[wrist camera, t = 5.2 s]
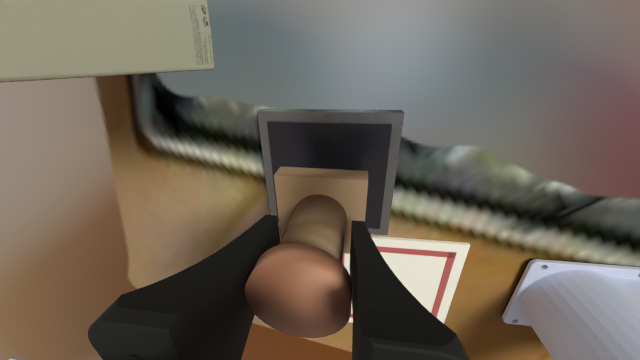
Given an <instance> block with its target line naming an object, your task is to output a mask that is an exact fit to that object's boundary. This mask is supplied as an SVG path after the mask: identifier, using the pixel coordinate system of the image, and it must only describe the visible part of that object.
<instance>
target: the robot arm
mask: <svg viewBox="0 0 640 360" xmlns="http://www.w3.org/2000/svg"><path fill="white" fill-rule="evenodd" d="M279 243H280V236H279V227H278V218H277V216H276V215H265V216H264V217H263V218H261V219H260V220H259V221H258V222H256V223H255V224H254V225H253V226H252V227H250V228H249V229H248V230H247V231H245V232H244V233H243V234H241V235H240V236H239V237H237V238H236V239H235V240H233V241H232V242H230V243H229V244H228V245H226V246H225V247H223V248H222V249H220V250H219V251H217V252H216V253H214V254H213V255H211V256H209V257H208V258H206V259H204V260H202V261H201V262H199V263H197V264H195V265H193V266H191V267H189V268H187V269H185V270H183V271H181V272H179V273H177V274H175V275H172V276H170V277H168V278H166V279H163V280H161V281H158V282H156V283H153V284H151V285H148V286H145V287H143V288H140V289H137V290H134V291H132V292H129V293H126V294H123V295H121V296H120V297H119V298H118V299H117V300H116V301H115V302H114V303H113V304H112V305H111V306H110V307H109V308H108V309H107V310H106V311H105V312H104V313H103V314H102V315H101V316H100V317H99V318H98V319H97V320H96V321H95V322H94V323H93V324H92V325H91V326H90V328H89V330H88V337H89V340H90V342H91V344H92V346H93V347H94V348H95V349H96V351H97V352H98V354H99V355H100V356H101V358H102V359H103V360H241V358H242V354H243V351H244V347H245V343H246V340H247V337H248V334H249V330H250V327H251V324H252V321H253V318H254V315H255V314H254V312H253V311H252V310H251V308H250V307H249V305H248V303H247V301H246V297H245V285H246V282H247V280H248V278H249V276H250V274H251V273H252V271H253V269H254V267H255V265H256V263H257V261H258V259H259V258H260V256H261V255H262V254H263V253H264V252H265V251H267V250H268V249H270V248H272V247H274V246H278V245H279ZM350 277H351V280H352V311H353V344H352V360H469V358H468V356H467V354H466V352H465V350H464V348H463V346H462V344H461V342H460V340H459V338H458V337H457V335H456V333H454V332H453V331H452V330H451V329H450V328H448V327H447V326H446V325H445V324H443V323H442V322H441V321H440V320H439V319H437V318H436V317H435V316H434V315H433V314H431V313H430V312H429V311H428V310H427V309H426V308H425V307H424V306H423V305H422V304H421V303H420V302H419V301H418V300H417V299H416V298H415V297H414V296H413V295H412V294H411V293H410V292H409V291H408V290H407V288H406V287H405V286H404V285H403V284H402V283H401V281H400V280H399V279H398V278H397V276H396V275H395V274H394V273H393V271H392V270H391V269H390V267H389V266H388V264H387V263H386V261H385V260H384V258H383V257H382V255H381V254H380V252H379V250H378V248H377V247H376V245H375V243H374V241H373V239H372V237H371V235H370V233H369V231H368V228H367V225H366V223H365V222H364V221H353V220H352V226H351V245H350ZM502 319H503V321H504V322H505V323H508V324H517V325H526V326H531V327H532V328H533V330H534V331H535V333H536V334H537V336H538V337H539V339H540V341H541V342H542V344H543V345H544V347H545V348H546V350H547V351H548V353H549V354H550V356H551V357H552V359H553V360H640V267H631V266H618V265H605V264H592V263H579V262H566V261H554V260H541V259H534V260H531V261H530V262H529V263H528V265H527V267H526V269H525V271H524V273H523V275H522V277H521V279H520V281H519V283H518V285H517V287H516V289H515V291H514V293H513V295H512V297H511V299H510V301H509V303H508V305H507V307H506V309H505V311H504V313H503V315H502ZM9 360H25V359H19V358H11V359H9Z"/></svg>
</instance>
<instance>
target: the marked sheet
mask: <svg viewBox="0 0 640 360" xmlns="http://www.w3.org/2000/svg"><path fill="white" fill-rule="evenodd" d="M371 237H372V239H373V241H374V243H375V245H376V247H377V248H378V250H379V252H380V254H381V255H382V257H383V258H384V260H385V261H386V263H387V264H388V266H389V267H390V269H391V270H392V271H393V273H394V274H395V275H396V276H397V278H398V279H399V280H400V281H401V283H402V284H403V285H404V286H405V287H406V288H407V290H408V291H409V292H410V293H411V294H412V295H413V296H414V297H415V298H416V299H417V300H418V301H419V302H420V303H421V304H422V305H423V306H424V307H425V308H426V309H427V310H428V311H429V312H430V313H431V314H433V315H434V316H435V317H436V318H437V319H439V320H440V321H441V322H442V323H443V324H444V322H445V319H446V316H447V313H448V310H449V307H450V304H451V301H452V298H453V295H454V292H455V289H456V286H457V283H458V280H459V277H460V274H461V271H462V268H463V265H464V262H465V259H466V256H467V253H468V250H469V247H470V244H469V243H465V242H451V241H437V240H424V239H410V238H396V237H382V236H371ZM342 264H343V265H344V267H345V268H346V269H347V271H348V273H349V275H350V254H347V253H343V259H342ZM348 322H352V323H353V311H352V303H351V315H350V318H349V321H348Z"/></svg>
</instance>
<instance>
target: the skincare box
mask: <svg viewBox="0 0 640 360" xmlns="http://www.w3.org/2000/svg"><path fill="white" fill-rule="evenodd" d="M212 69H214V58H213V47H212V37H211V28H210V20H209V13H208V6H207V0H0V82H15V81H34V80H50V79H67V78H81V77H82V78H83V77H100V76H115V75H129V74H146V73H164V72H179V71H196V70H212Z"/></svg>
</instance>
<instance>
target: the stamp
mask: <svg viewBox="0 0 640 360" xmlns="http://www.w3.org/2000/svg"><path fill="white" fill-rule="evenodd" d="M274 181H275V190H276V199H277V208H278V217H279V226H280V235H281V241H280V243H279V245H278V246H274V247H272V248H270V249H268V250H267V251H265V252H264V253H263V254H262V255H261V256H260V258H259V259H258V261H257V263H256V265H255V267H254V269H253V271H252V273H251V274H250V276H249V278H248V280H247V282H246V285H245V297H246V301H247V303H248V305H249V307H250V308H251V310H252V311H253V312H254V314H255V315H256V316H257V317H258V318H259V319H261V320H262V321H263V322H264V323H266V324H267V325H269V326H271V327H272V328H274V329H276V330H278V331H281V332H283V333H286V334H289V335H293V336H298V337H305V338H318V337H325V336H329V335H331V334H334V333H336V332H338V331H339V330H341V329H342V328H343V327H344V326H345V325H346V324H347V322H348V321H349V318H350V315H351V303H352V280H351V277H350V275H349V273H348V271H347V269H346V268H345V267H344V265H343V264H342V259H343V253H347V254H350V245H351V226H352V220H353V221H364V222H365V214H366V202H367V190H368V171H358V170H339V169H320V168H301V167H282V166H281V167H280V168H279V169H278V171H277V172H276V173H275V174H274Z"/></svg>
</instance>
